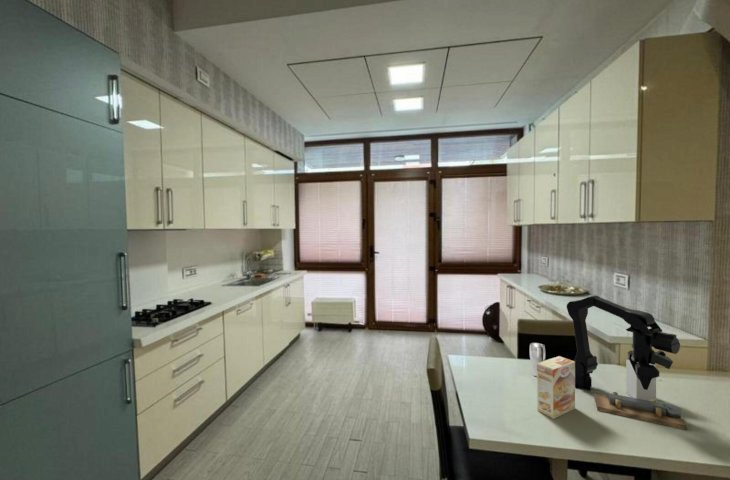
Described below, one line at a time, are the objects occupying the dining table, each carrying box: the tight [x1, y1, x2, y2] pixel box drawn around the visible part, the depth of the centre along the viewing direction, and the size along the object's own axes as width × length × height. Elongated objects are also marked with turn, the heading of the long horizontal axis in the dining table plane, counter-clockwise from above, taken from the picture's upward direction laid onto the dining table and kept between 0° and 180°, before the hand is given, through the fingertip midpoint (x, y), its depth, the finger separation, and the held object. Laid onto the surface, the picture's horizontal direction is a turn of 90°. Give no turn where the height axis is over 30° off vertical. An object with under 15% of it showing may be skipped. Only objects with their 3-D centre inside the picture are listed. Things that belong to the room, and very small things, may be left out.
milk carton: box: [625, 357, 657, 401], centre depth 134 cm, size 7×7×19 cm
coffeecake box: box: [536, 355, 576, 420], centre depth 127 cm, size 15×7×20 cm, turn 117°
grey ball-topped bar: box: [607, 392, 682, 419], centre depth 123 cm, size 21×5×3 cm, turn 59°
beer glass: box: [529, 342, 546, 378], centre depth 158 cm, size 7×7×15 cm
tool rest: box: [593, 391, 688, 431], centre depth 124 cm, size 26×12×4 cm, turn 59°
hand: (642, 384), depth 123 cm, fingers open, 9 cm apart
